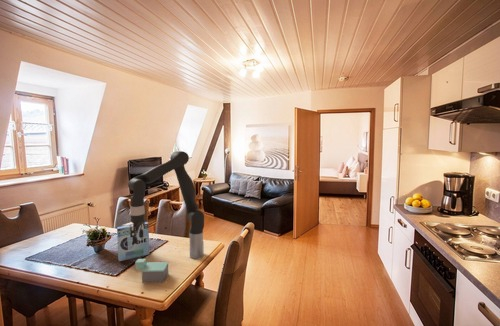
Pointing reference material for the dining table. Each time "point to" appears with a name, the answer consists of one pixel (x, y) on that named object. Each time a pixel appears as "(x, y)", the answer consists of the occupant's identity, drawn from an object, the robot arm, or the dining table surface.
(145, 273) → the tub
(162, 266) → the lid
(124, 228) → the gum box
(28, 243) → the dining table surface
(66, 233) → the dining table surface
